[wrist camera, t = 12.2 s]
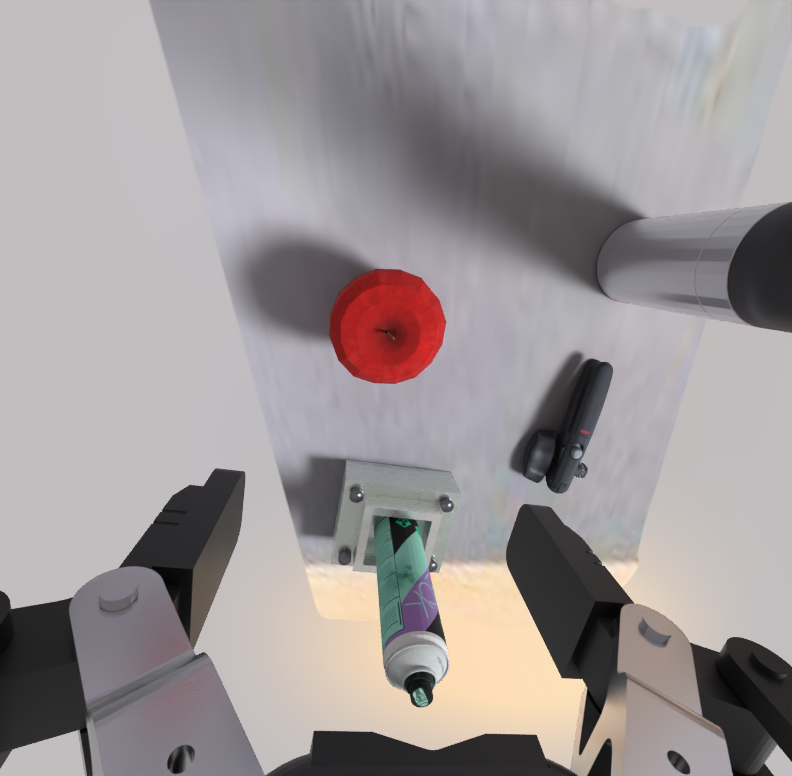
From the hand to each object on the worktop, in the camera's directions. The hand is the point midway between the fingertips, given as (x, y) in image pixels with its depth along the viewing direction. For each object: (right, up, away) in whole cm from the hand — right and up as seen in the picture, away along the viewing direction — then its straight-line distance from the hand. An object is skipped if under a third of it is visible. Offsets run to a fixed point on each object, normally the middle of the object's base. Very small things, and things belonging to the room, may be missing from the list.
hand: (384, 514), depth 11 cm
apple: (-1, +12, +34) cm, 36 cm away
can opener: (+22, 0, +41) cm, 47 cm away
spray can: (0, -14, +38) cm, 40 cm away
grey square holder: (0, -12, +42) cm, 44 cm away
